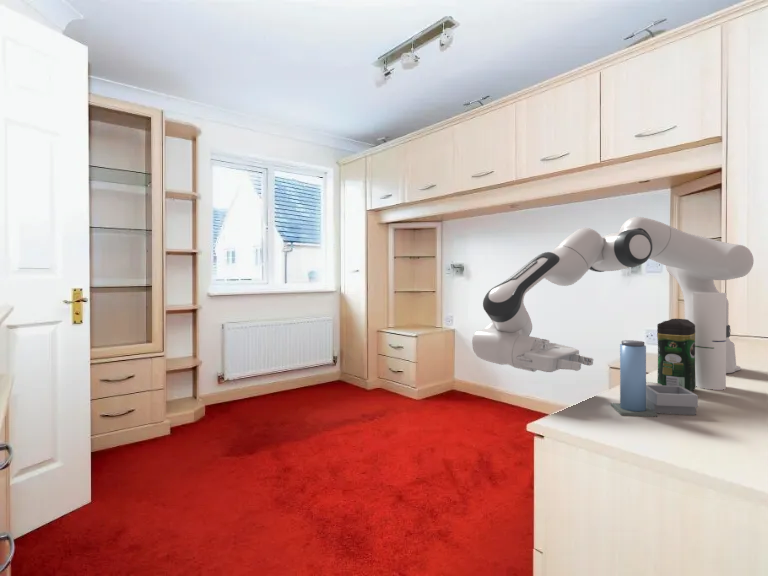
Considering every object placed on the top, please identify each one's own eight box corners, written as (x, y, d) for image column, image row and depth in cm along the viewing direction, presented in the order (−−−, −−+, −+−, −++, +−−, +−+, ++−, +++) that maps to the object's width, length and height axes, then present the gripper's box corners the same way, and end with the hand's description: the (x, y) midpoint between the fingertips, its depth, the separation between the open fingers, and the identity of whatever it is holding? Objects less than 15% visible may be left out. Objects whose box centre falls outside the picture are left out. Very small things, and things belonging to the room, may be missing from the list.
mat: (611, 405, 101) (611, 402, 101) (644, 406, 100) (644, 404, 100) (621, 415, 94) (621, 412, 94) (656, 416, 93) (656, 413, 93)
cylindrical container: (731, 390, 113) (732, 293, 112) (700, 389, 114) (701, 293, 113) (716, 383, 120) (717, 292, 119) (687, 382, 121) (687, 292, 120)
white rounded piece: (640, 394, 109) (640, 382, 109) (658, 394, 108) (658, 382, 108) (646, 398, 105) (646, 386, 105) (665, 399, 104) (665, 386, 104)
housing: (630, 394, 110) (630, 376, 110) (665, 395, 108) (665, 377, 108) (656, 414, 94) (656, 393, 94) (698, 416, 93) (698, 395, 93)
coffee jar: (663, 384, 120) (663, 316, 120) (698, 389, 114) (698, 318, 114) (653, 390, 113) (653, 319, 113) (689, 396, 108) (689, 321, 107)
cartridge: (617, 404, 100) (616, 339, 100) (641, 405, 99) (640, 340, 99) (624, 410, 95) (624, 343, 95) (649, 411, 94) (649, 343, 94)
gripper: (513, 345, 105) (573, 356, 96) (546, 338, 121) (599, 347, 112) (511, 370, 106) (570, 384, 97) (544, 361, 121) (597, 371, 112)
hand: (586, 364), depth 104 cm, fingers open, 8 cm apart
